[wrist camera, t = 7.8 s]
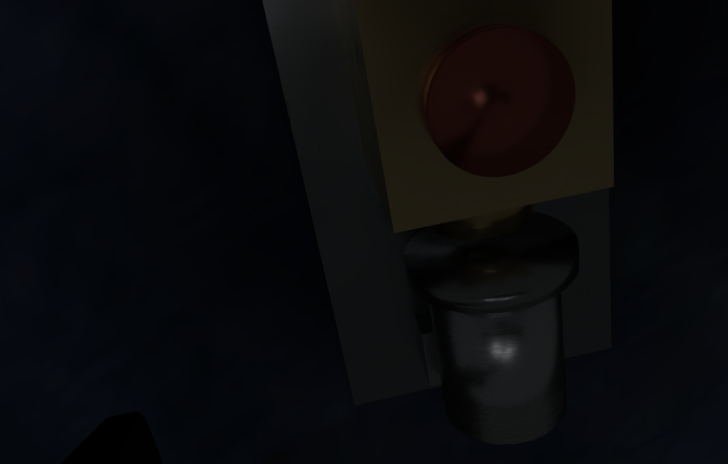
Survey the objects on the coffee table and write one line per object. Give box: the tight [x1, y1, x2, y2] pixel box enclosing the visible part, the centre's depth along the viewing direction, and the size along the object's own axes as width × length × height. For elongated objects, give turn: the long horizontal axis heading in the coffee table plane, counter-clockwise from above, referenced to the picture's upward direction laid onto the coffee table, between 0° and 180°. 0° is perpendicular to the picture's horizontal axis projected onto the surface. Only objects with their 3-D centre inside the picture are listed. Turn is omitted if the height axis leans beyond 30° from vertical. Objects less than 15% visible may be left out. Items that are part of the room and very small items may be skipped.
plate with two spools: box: [262, 0, 612, 444], centre depth 16 cm, size 22×9×5 cm, turn 10°
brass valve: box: [336, 0, 614, 239], centre depth 16 cm, size 7×5×6 cm
